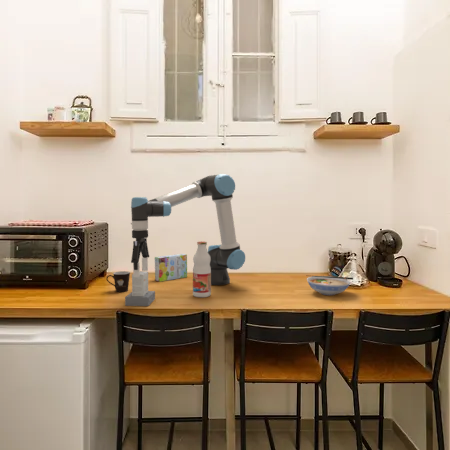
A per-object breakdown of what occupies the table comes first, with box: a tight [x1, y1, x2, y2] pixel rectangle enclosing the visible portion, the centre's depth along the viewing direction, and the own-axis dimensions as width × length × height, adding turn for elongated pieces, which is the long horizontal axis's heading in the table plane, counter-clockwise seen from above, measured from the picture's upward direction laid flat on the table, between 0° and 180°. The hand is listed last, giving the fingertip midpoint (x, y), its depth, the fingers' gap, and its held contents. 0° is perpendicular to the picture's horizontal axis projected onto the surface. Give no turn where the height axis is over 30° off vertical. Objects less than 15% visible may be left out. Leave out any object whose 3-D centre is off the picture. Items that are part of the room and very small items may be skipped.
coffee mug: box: [106, 270, 131, 293], centre depth 187 cm, size 12×9×10 cm
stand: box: [124, 290, 156, 307], centre depth 166 cm, size 11×12×4 cm
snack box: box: [154, 253, 188, 283], centre depth 218 cm, size 21×6×15 cm, turn 133°
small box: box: [131, 270, 149, 296], centre depth 165 cm, size 8×6×10 cm
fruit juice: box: [192, 241, 212, 298], centre depth 179 cm, size 9×9×28 cm
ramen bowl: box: [306, 275, 354, 296], centre depth 184 cm, size 25×23×8 cm
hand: (140, 273), depth 165 cm, fingers open, 13 cm apart
